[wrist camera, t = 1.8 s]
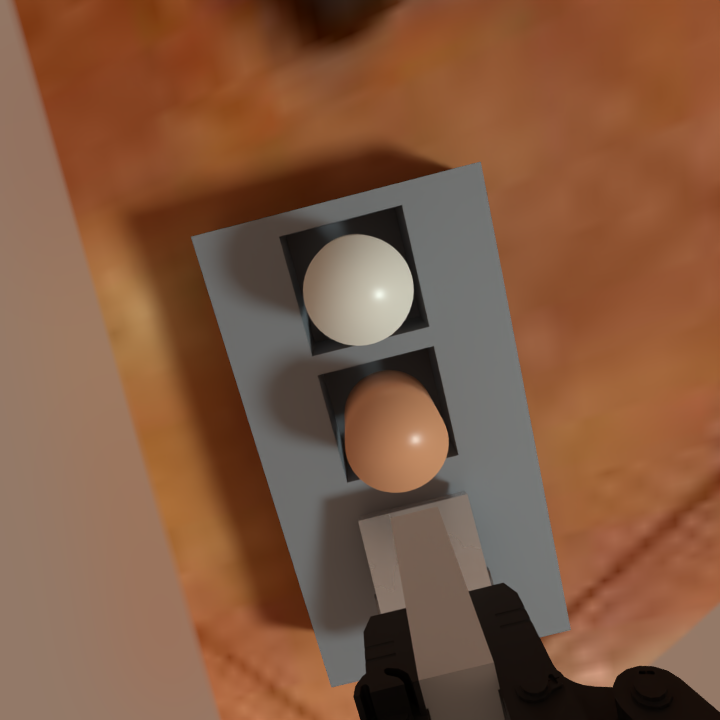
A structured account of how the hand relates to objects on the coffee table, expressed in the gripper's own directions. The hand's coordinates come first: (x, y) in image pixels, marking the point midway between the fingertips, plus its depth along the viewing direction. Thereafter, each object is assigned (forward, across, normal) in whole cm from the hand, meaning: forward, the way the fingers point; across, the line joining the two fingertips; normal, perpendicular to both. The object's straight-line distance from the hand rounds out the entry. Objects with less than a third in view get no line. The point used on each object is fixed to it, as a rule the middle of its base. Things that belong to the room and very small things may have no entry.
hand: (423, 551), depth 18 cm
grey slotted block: (+17, 0, -2) cm, 17 cm away
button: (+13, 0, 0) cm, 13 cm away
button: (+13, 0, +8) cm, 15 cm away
